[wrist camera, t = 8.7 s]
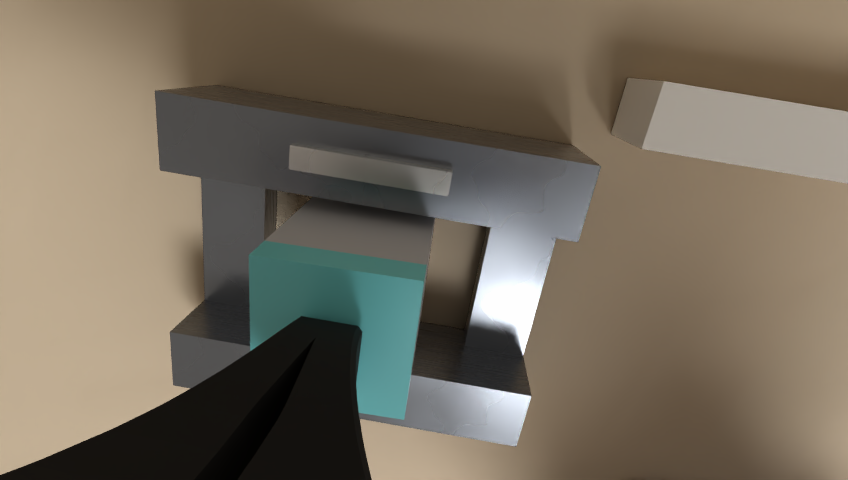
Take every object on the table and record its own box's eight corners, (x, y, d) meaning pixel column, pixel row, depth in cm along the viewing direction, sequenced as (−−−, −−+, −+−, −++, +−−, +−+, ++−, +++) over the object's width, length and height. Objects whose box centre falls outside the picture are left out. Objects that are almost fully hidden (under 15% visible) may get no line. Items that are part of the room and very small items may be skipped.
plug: (437, 198, 15) (424, 281, 9) (424, 295, 16) (404, 419, 10) (328, 182, 15) (248, 255, 9) (323, 280, 16) (250, 395, 11)
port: (573, 145, 14) (604, 169, 11) (507, 383, 17) (517, 454, 14) (216, 85, 14) (147, 91, 11) (219, 333, 17) (167, 391, 14)
